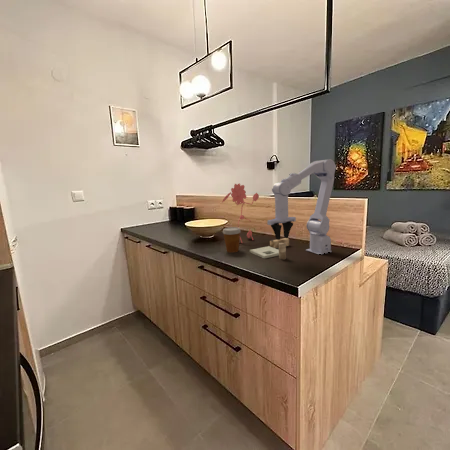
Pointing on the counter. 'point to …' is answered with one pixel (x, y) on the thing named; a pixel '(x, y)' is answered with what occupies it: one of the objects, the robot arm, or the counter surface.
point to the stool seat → (265, 252)
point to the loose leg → (282, 250)
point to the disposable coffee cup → (232, 239)
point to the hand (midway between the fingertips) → (282, 238)
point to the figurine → (238, 196)
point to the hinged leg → (276, 242)
